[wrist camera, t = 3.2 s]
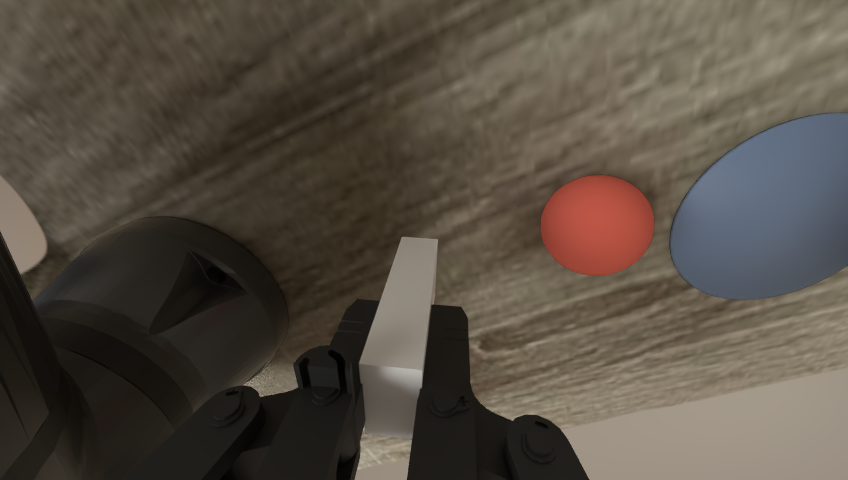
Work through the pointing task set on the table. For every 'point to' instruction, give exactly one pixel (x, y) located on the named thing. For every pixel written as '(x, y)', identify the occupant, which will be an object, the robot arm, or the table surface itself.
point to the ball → (597, 225)
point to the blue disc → (768, 213)
